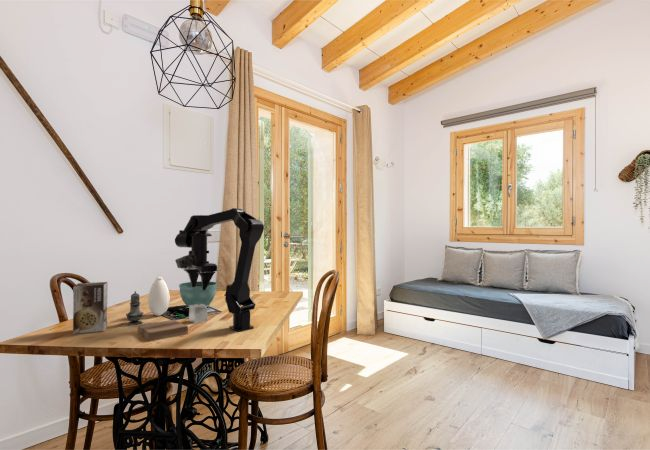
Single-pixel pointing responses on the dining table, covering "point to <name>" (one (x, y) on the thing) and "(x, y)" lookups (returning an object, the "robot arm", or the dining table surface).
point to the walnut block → (162, 330)
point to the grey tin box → (198, 313)
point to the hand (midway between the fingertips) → (198, 288)
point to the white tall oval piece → (158, 297)
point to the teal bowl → (197, 293)
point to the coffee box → (89, 307)
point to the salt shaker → (134, 311)
